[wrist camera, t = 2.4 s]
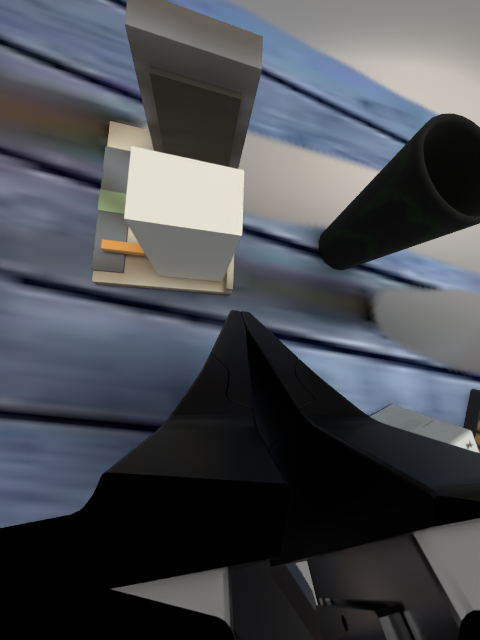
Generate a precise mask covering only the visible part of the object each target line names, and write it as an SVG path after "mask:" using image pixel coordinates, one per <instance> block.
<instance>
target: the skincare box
mask: <svg viewBox="0 0 480 640" xmlns="http://www.w3.org/2000/svg"><path fill="white" fill-rule="evenodd" d="M370 417H371V418H373V419H375V420H377V421H379V422H382V423H384V424H387V425H390V426H393V427H396V428H400V429H403V430H406V431H409V432H413V433H416V434H419V435H422V436H425V437H429V438H432V439H435V440H438V441H442V442H445V443H448V444H451V445H455V446H458V447H461V448H464V449H467V450H471V451H474V452H478V453H479V450H478V447H477V444H476V442H475V439H474V436H473V433H472V431H471V430H468V429H465V428H462V427H459V426H456V425H453V424H450V423H447V422H444V421H441V420H438V419H435V418H432V417H429V416H426V415H423V414H420V413H417V412H414V411H411V410H408V409H405V408H403V407H400V406H397V405H394V404H391V405H389V406H387V407H386V408H384V409H382V410H380V411H379V412H377V413H375V414H373V415H372V416H370Z"/></svg>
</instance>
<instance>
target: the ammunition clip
mask: <svg viewBox="0 0 480 640" xmlns="http://www.w3.org/2000/svg"><path fill="white" fill-rule="evenodd" d="M463 428H465V429H468V430H471V431H472V433H473V436H474V439H475V442H476V444H477V447H478V450H479V453H480V390H475V389H472V390H471V393H470V397H469V402H468V407H467V412H466V417H465V422H464V427H463Z"/></svg>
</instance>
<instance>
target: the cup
mask: <svg viewBox="0 0 480 640" xmlns="http://www.w3.org/2000/svg"><path fill="white" fill-rule="evenodd" d="M479 223H480V127H479V126H477V125H476V124H475V123H474V122H472V121H471V120H469V119H467V118H465V117H463V116H460V115H456V114H441V115H438V116H435V117H433V118H431V119H430V120H429V121H428V122H427V123H426V124H425V125H424V126H423V127H422V128H421V129H420V130H419V131H418V132H417V133H416V134H415V135H414V136H413V138H412V139H411V140H410V141H409V142H408V143H407V144H406V145H405V146H404V147H403V148H402V149H401V150H400V151H399V152H398V153H397V154H396V156H395V157H394V158H393V159H392V160H391V161H390V162H389V163H388V164H387V165H386V166H385V167H384V168H383V169H382V170H381V171H380V173H379V174H378V175H377V176H376V177H375V178H374V179H373V180H372V181H371V182H370V183H369V184H368V185H367V186H366V187H365V188H364V190H363V191H362V192H361V193H360V194H359V195H358V196H357V197H356V198H355V199H354V200H353V201H352V202H351V203H350V204H349V205H348V206H347V208H346V209H345V210H344V211H343V212H342V213H341V214H340V215H339V216H338V217H337V218H336V219H335V220H334V221H333V222H332V223H331V225H330V226H329V227H328V228H327V229H326V230H325V231H324V232H323V233H322V235H321V236H320V239H319V251H320V254H321V257H322V258H323V260H324V261H325V262H326V263H327V264H328V265H329V266H330V267H332V268H334V269H337V270H344V269H348V268H351V267H354V266H357V265H360V264H363V263H366V262H369V261H371V260H374V259H377V258H380V257H383V256H386V255H389V254H392V253H395V252H398V251H401V250H403V249H406V248H409V247H412V246H415V245H418V244H421V243H424V242H427V241H430V240H432V239H435V238H438V237H441V236H444V235H447V234H450V233H453V232H456V231H459V230H462V229H465V228H467V227H470V226H473V225H476V224H479Z"/></svg>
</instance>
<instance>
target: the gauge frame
mask: <svg viewBox="0 0 480 640" xmlns="http://www.w3.org/2000/svg"><path fill="white" fill-rule="evenodd" d="M125 27H126V31H127V36H128V40H129V44H130V49H131V53H132V58H133V62H134V66H135V71H136V75H137V79H138V84H139V88H140V93H141V97H142V101H143V106H144V110H145V114H146V119H147V123H148V128H149V130H146V129H142V128H137V127H133V126H129V125H125V124H120V123H116V122H112V121H110V128H109V137H108V145H107V146H106V148H105V156H104V165H103V174H102V182H101V189H100V195H99V203H98V217H97V226H96V235H95V244H94V252H93V261H92V270H93V278H92V282H94V283H96V284H98V285H111V286H123V287H136V288H148V289H161V290H174V291H186V292H199V293H211V294H224V295H230V294H231V291H232V290H233V272H234V255H233V258H232V260H231V262H230V265H229V267H228V269H227V272H226V274H225V276H224V279H223V281H222V282H219V281H208V280H198V279H187V278H176V277H166V276H158V274H157V273H156V271H155V269H154V268H153V266H152V264H151V263H150V261H149V259H148V258H147V256H142V255H133V254H124V253H116V252H107V251H103V250H102V249H101V243H102V239H105V240H113V241H121V242H129V243H137V244H139V243H138V241H137V239H136V238H135V236H134V234H133V233H132V231H131V229H130V228H129V226H128V224H127V223H126V221H125V219H124V214H125V204H126V193H127V183H128V173H129V163H130V153H131V146H134V147H138V148H143V149H148V150H152V151H157V152H161V153H166V154H171V155H175V156H180V157H185V158H189V159H194V160H199V161H203V162H208V163H212V164H217V165H222V166H226V167H231V168H236V169H238V167H239V163H240V158H241V154H242V150H243V146H244V142H245V138H246V133H247V129H248V125H249V121H250V117H251V113H252V108H253V104H254V100H255V96H256V92H257V88H258V83H259V79H260V75H261V71H262V42H263V36H260V35H257V34H254V33H252V32H249V31H246V30H244V29H241V28H238V27H235V26H233V25H230V24H227V23H225V22H222V21H219V20H216V19H214V18H211V17H208V16H206V15H203V14H200V13H197V12H195V11H192V10H189V9H187V8H184V7H181V6H178V5H176V4H173V3H170V2H168V1H165V0H127V9H126V18H125Z"/></svg>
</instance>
